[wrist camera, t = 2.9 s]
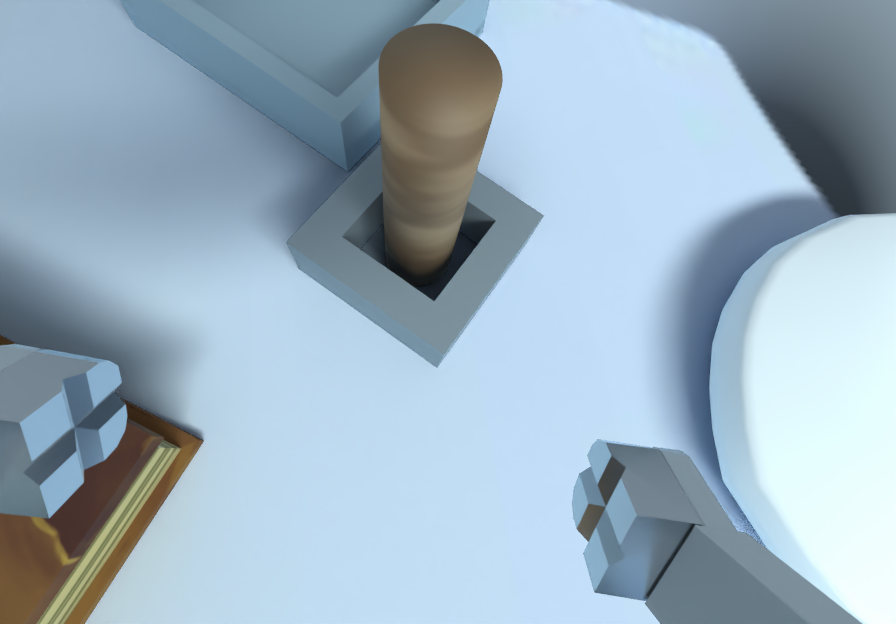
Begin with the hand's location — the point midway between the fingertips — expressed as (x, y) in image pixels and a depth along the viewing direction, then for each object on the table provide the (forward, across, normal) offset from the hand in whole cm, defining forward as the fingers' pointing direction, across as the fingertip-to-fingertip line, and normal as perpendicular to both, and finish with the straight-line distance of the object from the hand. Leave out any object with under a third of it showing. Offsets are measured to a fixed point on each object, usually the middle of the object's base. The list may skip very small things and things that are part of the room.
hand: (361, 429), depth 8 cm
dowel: (+20, 0, +4) cm, 21 cm away
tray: (+32, +10, -7) cm, 34 cm away
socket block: (+20, 0, +4) cm, 21 cm away
